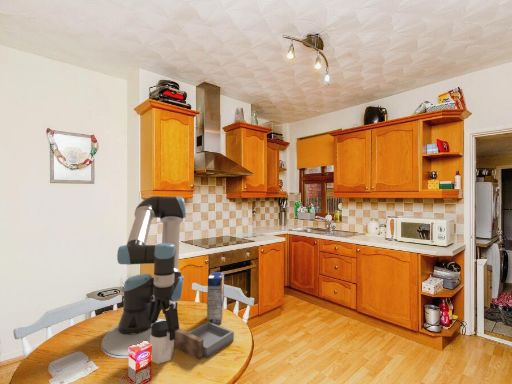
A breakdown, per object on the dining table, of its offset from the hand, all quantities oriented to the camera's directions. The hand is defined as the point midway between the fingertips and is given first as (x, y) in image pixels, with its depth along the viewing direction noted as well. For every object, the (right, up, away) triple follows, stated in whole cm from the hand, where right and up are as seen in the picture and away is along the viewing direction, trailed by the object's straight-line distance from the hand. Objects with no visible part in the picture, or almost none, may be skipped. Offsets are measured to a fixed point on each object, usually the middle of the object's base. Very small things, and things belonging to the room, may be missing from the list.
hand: (161, 343), depth 102 cm
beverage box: (+15, -6, +33) cm, 37 cm away
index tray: (+16, -6, +10) cm, 19 cm away
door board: (+9, -5, +4) cm, 11 cm away
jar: (0, -5, 0) cm, 5 cm away
